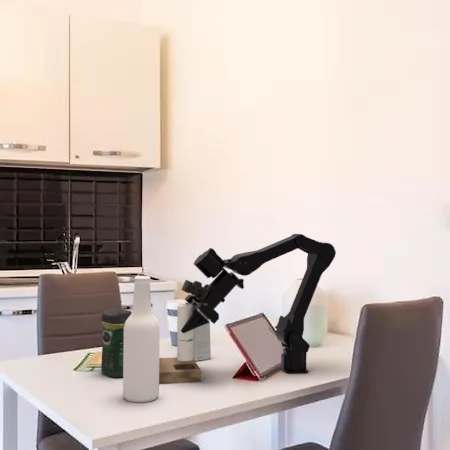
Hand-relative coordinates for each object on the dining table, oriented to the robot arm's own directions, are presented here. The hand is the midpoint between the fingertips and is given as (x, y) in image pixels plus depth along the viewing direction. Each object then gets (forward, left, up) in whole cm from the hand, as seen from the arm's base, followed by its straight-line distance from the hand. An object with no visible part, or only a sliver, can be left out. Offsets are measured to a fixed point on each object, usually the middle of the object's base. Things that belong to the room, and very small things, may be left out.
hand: (180, 330), depth 163 cm
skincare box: (-8, -22, -13) cm, 27 cm away
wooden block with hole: (+2, -3, -13) cm, 14 cm away
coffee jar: (+17, -7, -13) cm, 23 cm away
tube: (-1, 0, -8) cm, 8 cm away
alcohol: (+12, +16, -13) cm, 24 cm away
